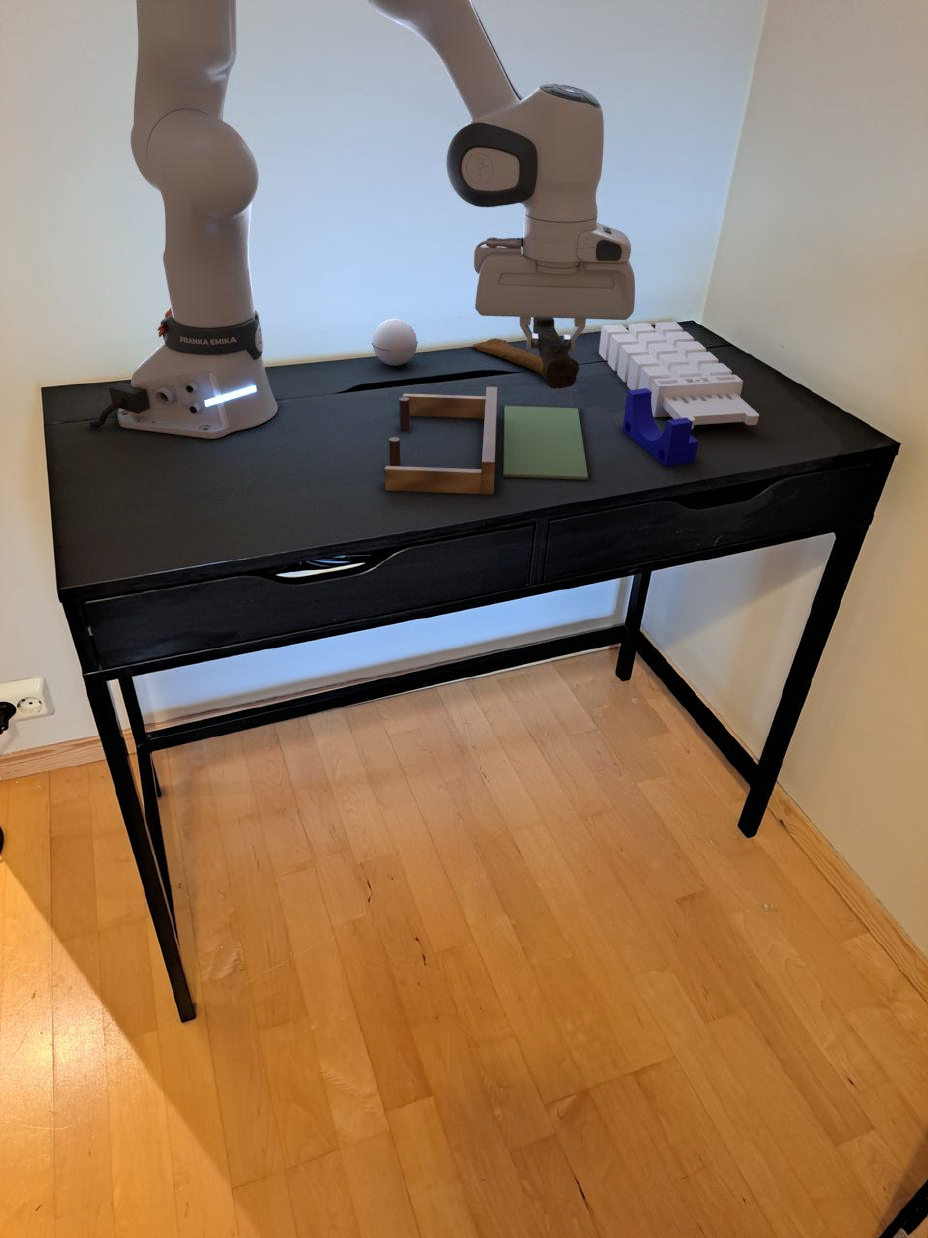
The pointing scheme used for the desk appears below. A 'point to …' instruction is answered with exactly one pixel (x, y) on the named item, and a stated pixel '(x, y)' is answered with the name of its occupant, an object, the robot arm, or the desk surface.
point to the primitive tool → (512, 354)
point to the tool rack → (445, 477)
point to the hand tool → (554, 355)
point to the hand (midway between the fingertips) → (550, 349)
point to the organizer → (675, 373)
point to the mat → (543, 443)
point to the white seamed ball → (394, 342)
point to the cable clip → (658, 431)
